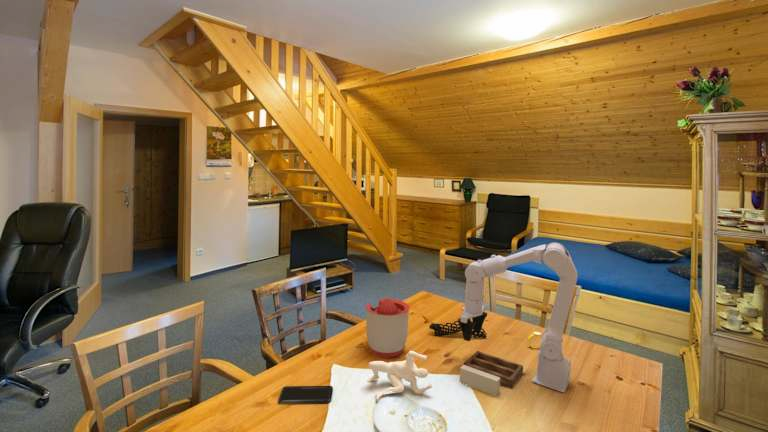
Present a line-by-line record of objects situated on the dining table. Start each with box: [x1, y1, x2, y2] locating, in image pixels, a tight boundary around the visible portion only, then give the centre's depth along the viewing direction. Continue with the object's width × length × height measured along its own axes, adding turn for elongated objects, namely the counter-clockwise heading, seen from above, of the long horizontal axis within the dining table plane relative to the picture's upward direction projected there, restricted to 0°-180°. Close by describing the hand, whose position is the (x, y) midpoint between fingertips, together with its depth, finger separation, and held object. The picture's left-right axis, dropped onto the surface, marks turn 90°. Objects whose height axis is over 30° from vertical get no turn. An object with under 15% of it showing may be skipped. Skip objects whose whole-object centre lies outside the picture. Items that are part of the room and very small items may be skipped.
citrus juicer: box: [365, 297, 410, 359], centre depth 143 cm, size 16×17×20 cm
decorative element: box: [428, 320, 488, 339], centre depth 157 cm, size 22×5×6 cm, turn 86°
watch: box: [527, 331, 542, 350], centre depth 147 cm, size 6×3×6 cm, turn 88°
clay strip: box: [459, 364, 501, 397], centre depth 121 cm, size 12×2×5 cm, turn 53°
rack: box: [463, 350, 524, 389], centre depth 130 cm, size 16×11×3 cm
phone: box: [278, 385, 334, 405], centre depth 115 cm, size 8×1×15 cm
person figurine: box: [366, 350, 433, 402], centre depth 120 cm, size 13×13×18 cm
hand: (472, 336), depth 134 cm, fingers open, 7 cm apart
